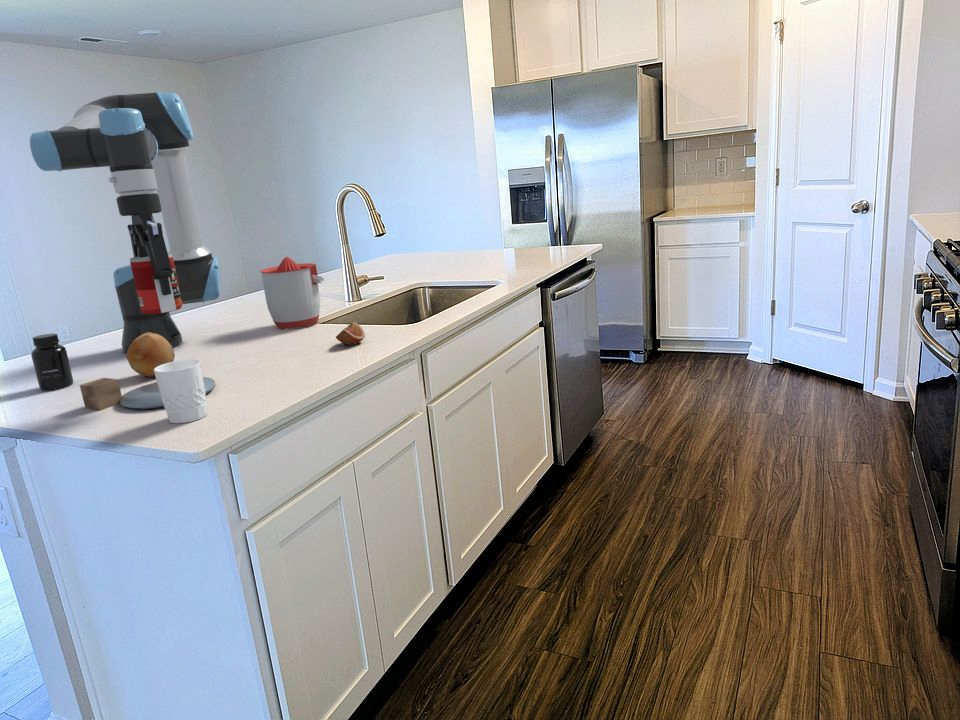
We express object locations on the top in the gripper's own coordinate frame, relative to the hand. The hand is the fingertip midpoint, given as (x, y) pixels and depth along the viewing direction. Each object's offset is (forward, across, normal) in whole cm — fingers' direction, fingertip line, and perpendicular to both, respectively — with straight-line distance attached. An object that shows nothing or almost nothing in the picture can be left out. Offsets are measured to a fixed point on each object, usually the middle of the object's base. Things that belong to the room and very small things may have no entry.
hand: (161, 309), depth 139 cm
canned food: (0, 0, 0) cm, 0 cm away
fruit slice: (+18, -3, +43) cm, 46 cm away
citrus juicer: (+18, -38, +47) cm, 63 cm away
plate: (+18, +1, -2) cm, 18 cm away
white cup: (+18, +19, -4) cm, 26 cm away
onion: (+18, -20, +1) cm, 27 cm away
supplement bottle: (+18, -32, -17) cm, 41 cm away
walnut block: (+18, -6, -13) cm, 23 cm away
